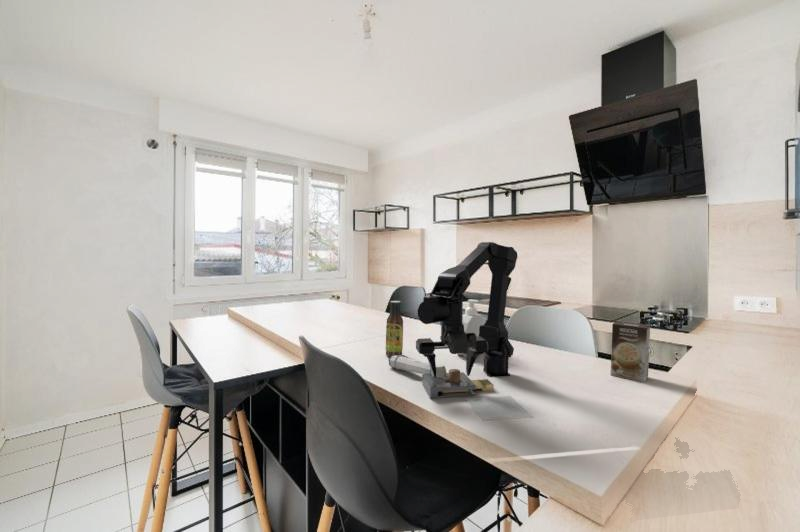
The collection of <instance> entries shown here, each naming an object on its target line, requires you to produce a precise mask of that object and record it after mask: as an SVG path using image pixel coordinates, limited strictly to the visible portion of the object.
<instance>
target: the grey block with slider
mask: <svg viewBox="0 0 800 532" xmlns="http://www.w3.org/2000/svg"><path fill="white" fill-rule="evenodd" d="M446 373H447V376H446V377H449V372H446ZM421 376H422V382H421V384H422V387H423V388H424V391H425V392H426V394H427V395H428V398H429V399H430V400H438V399H440V400H441V399H452V398H453V399H455V398H456V399H457V398H475V397H476V396H477V395H476V392H475V391H474V390H476V389H479V390H480V391H482V392H491V391H494V384H493V383H492V382H491V381H490V380H489V379H488V378H485V379H484V378H483V379H470V377H469V376H467V373H465V372H463V371H462V372H461V371H460V382H451V383H449V381H448V383H445V381H444V380H443V379H442V378H439V377H436V378H434V376H432V375H431V374H421Z"/></svg>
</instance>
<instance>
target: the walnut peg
mask: <svg viewBox="0 0 800 532" xmlns="http://www.w3.org/2000/svg"><path fill="white" fill-rule="evenodd" d="M460 372H461V370H460V369H458V368H451V369H449V370H448V373H449V383H451V382H460Z"/></svg>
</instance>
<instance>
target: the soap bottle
mask: <svg viewBox="0 0 800 532" xmlns="http://www.w3.org/2000/svg"><path fill="white" fill-rule="evenodd" d="M475 303H479V300H478V299H468V306H467V307H466V308H465V310H464V312H465V314H463V325H464V331H465V333H475V334H476V337H478V336H479V327H480V326H481V325H484V324H485V322H486V318H485V317H484V316H483V315H482V314H481V313H480V314H479V313H478V309H477V308H476V307H475ZM457 354H458V356H461V355H463V356H462V357H465V356H466V354H464V353H457ZM457 354H456V355H457Z"/></svg>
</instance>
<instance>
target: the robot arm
mask: <svg viewBox="0 0 800 532" xmlns="http://www.w3.org/2000/svg"><path fill="white" fill-rule="evenodd" d="M514 248H515V247H512V246H505V245H501V244H498V243H496V242H493V241H483V242H480V243H478V244H477V246H476V247H475V248H474V249H473V250H472V251H471V252H470V253H469V254H468V255H467V256H465V258H464V259H462V261H461V262H460V263H459V264H458V265H456V266H453V267H450V268H447V269H445V270H444V271H443V272H441V273H440V274H439V275H438V276H437V279H436V282H435V284H434V286H433V288H432V290H431V292H430V294H429V296H423V300H422V302H420V304H419V305H418V308H417V310H416V311H417V317H418V320H419V321H420V322H421V323H422V324H424V325H430V324H435V323H440V337H439V339H440V341H433V340H432V339H431V337H429V338H426V337H425V338H424V337H423V338H417V340H415V349H416V350H417V352H418V353H419V355H422V356H423V357H425V358H427V359H426V360H427V361H428V364H430V367H431V370H432V373H433V376H434V378H436V365H437V364H436V353H435V351H436V350H443V349H445V350H446V349H449V353H450V354H451V355H457V353H464V354H466V357H465V358H466V359H465V363H466V364H465V371H466V373H465V374H466V376H467V377H469V376H471V372H472V370H473V367H474V364H475V362H476V360H477V358H478V357H479V356H480V355H483V354H484V355H485V356H484V357H483V368H482V369H483V372H484V371H485V372H484V373H485V374H486V375H487V376H489V377H490V378H497V377H500V378H501V377H511V373H510V372H509V358H512V356H513V355H514V350H515V348H514V347H513V344H512V343H511V342H510V340H509V331H508V329H507V327H506V324H505V314H506V303H507V295H508V294H507V293H508V284H509V276H511V273H512V272H513V271H514V270H515V268H516V264H517V260H518V252H517V250H515V249H514ZM486 263H487V265H488V268H489V270H490V272H491V283H490V291H489V301H488V308H487V309H488V310H487V319H486V320H485V324H484V325H481V326H480V327H479V336H478V337H476V334H475V333H465V331H464V325H463V315H464V314H463V309H464V308H463V306H464V305H463V304H464V303H463V302H468V301H469V299H468V298H467V297H466V296H465V295H464V293H466V291H467V290H468V288H469V287H470V284H471V278H472V277H473V275H475V274H476V272H478V271H479V270H480V269H481V268H482V267H483V266H484V265H485V264H486Z"/></svg>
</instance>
